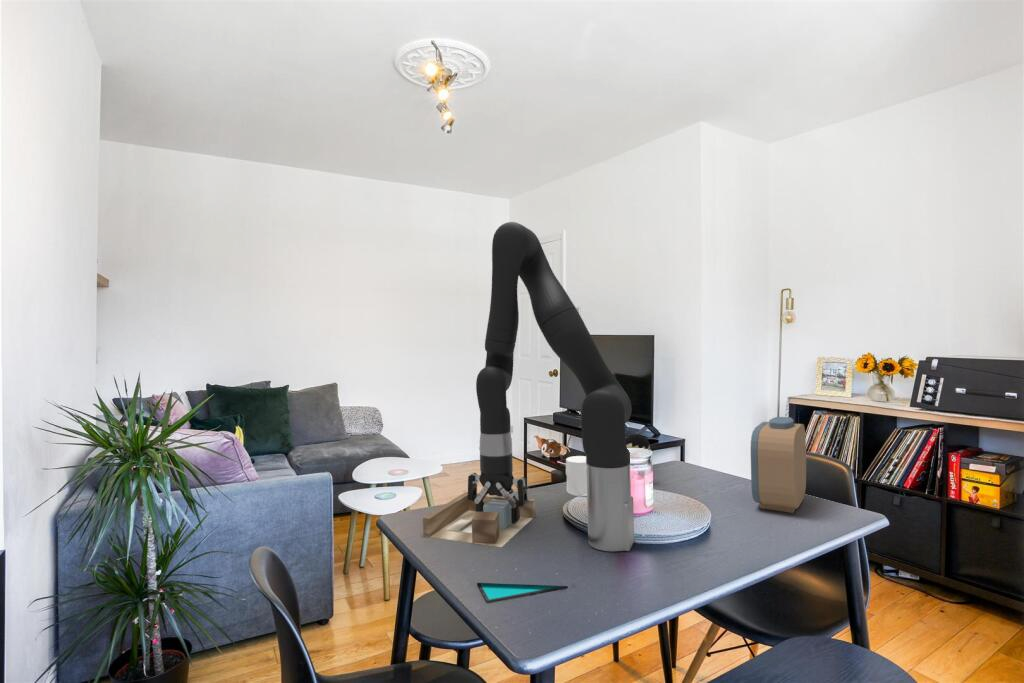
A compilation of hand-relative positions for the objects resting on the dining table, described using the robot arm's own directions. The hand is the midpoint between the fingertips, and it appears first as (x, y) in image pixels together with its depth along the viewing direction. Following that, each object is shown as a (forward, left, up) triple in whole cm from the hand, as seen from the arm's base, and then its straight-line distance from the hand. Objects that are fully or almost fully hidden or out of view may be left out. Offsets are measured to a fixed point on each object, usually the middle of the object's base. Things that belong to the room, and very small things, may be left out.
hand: (497, 520), depth 123 cm
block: (0, 0, -1) cm, 1 cm away
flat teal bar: (-16, +24, -3) cm, 28 cm away
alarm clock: (-61, -39, -2) cm, 73 cm away
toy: (-24, -45, -2) cm, 51 cm away
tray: (+3, +2, -2) cm, 4 cm away
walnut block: (-1, +9, -1) cm, 9 cm away
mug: (-11, -33, -2) cm, 35 cm away
